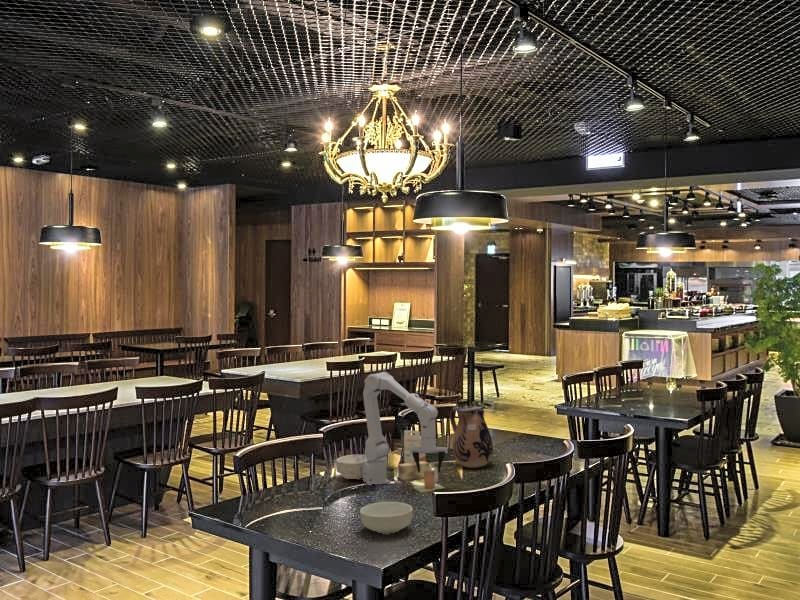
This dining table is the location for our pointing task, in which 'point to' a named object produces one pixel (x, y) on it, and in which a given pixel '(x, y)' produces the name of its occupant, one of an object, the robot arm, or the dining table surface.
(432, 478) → the terracotta cap
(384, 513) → the cereal bowl
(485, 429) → the ceramic pitcher
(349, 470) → the paper bowls
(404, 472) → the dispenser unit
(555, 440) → the dining table surface
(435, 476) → the grey shiny short cylinder
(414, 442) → the ink cartridge box
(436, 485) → the mat
